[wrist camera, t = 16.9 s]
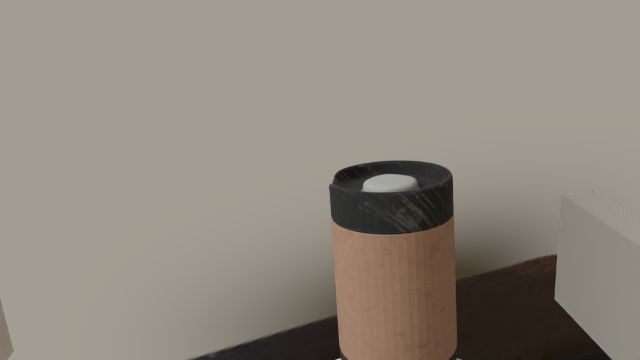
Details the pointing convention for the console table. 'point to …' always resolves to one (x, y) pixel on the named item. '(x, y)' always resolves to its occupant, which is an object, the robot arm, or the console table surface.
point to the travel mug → (394, 261)
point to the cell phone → (588, 356)
